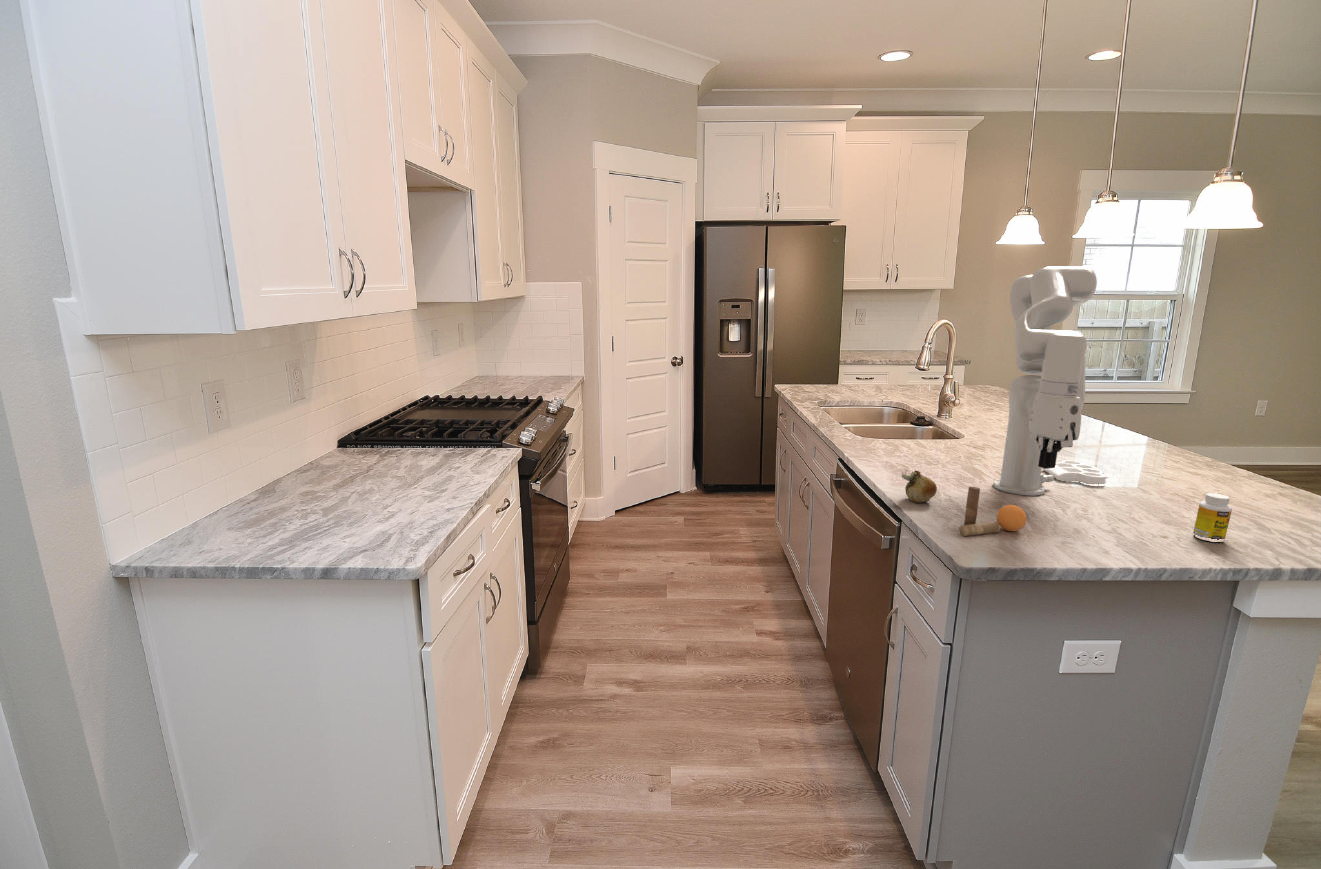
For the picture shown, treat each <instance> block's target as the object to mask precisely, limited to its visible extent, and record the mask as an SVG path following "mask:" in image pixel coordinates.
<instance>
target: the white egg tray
mask: <svg viewBox="0 0 1321 869" xmlns="http://www.w3.org/2000/svg"><path fill="white" fill-rule="evenodd" d="M1042 470H1043V471H1045V472H1046V473H1047V474H1048V475H1052V476H1053V477H1054V479H1056V480H1058V481H1059V480H1062V481H1078V482H1083V483H1086V484H1098V485H1099V484H1105V483H1106V479H1109V477H1108V476H1106V475H1104V472H1103V470H1100V469H1098V468H1097V467H1095V466H1092V465H1090V464H1089V465H1088V464H1086V463H1084V462H1083V461H1082V462H1081V461H1079V460H1062V461H1060V462H1057V461H1056V465H1055V468H1048V469H1044V468H1042Z"/></svg>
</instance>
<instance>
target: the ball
mask: <svg viewBox="0 0 1321 869" xmlns="http://www.w3.org/2000/svg"><path fill="white" fill-rule="evenodd" d="M996 521H997V523H998V524H999V526H1000V528H1002V529H1003V530H1005V531H1009V532H1016V531H1019V530H1021V529H1023V528H1024V526H1025V525H1026V523H1027V515H1026V512H1025V511H1024V510H1023V509H1022V508H1021V507H1019V506H1018V505H1016V504H1006V505H1003V506H1002V507H1001V508H999V510H998V511H997V513H996Z"/></svg>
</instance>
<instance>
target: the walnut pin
mask: <svg viewBox="0 0 1321 869" xmlns="http://www.w3.org/2000/svg"><path fill="white" fill-rule="evenodd" d="M980 493H981V488H980V487H977V486H969V487H968V490H967V497H966V498H967V499H966V507H965V513H964V522H963V525H971V524H977V515H978V509H979V508H978V507H979V500H980Z"/></svg>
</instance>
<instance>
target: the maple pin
mask: <svg viewBox="0 0 1321 869" xmlns="http://www.w3.org/2000/svg"><path fill="white" fill-rule="evenodd" d="M958 528H959V529H958V532H959V534H960V535H961V536H962V537H969V536H975V535H976V536H977V535H987V534H996V533H999V532H1000V530H1001V529H1000V528H1001V526H1000V525H999V524H998V522H996V521H991V522H982V523H981V522H979V523H976V524H971V525H964V524H962V525H960V526H959V527H958Z"/></svg>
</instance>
